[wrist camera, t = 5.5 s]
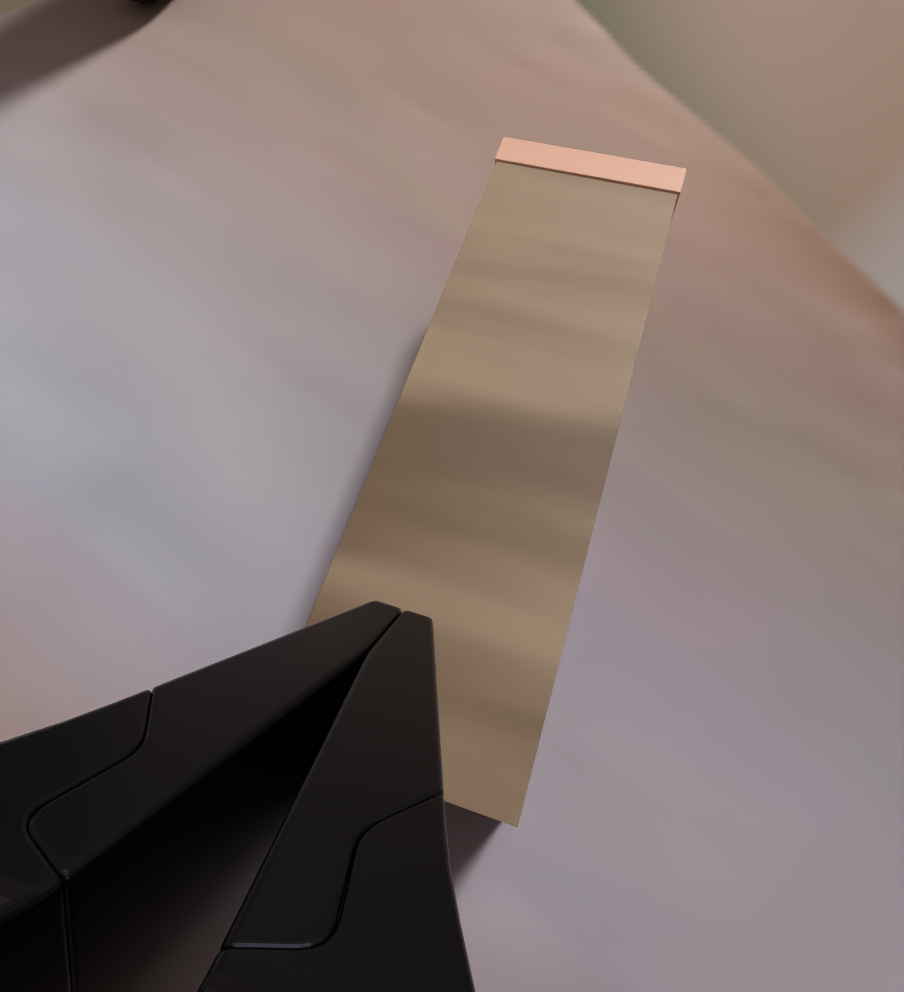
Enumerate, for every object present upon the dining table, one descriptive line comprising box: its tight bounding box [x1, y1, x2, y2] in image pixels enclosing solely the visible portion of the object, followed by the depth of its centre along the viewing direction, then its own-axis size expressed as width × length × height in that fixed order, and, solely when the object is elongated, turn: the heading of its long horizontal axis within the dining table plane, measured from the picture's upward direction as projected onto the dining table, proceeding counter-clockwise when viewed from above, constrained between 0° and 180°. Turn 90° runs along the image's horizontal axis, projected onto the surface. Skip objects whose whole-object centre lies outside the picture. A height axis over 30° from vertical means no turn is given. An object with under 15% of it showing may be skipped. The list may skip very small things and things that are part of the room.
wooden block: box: [305, 137, 686, 827], centre depth 15 cm, size 5×5×15 cm
